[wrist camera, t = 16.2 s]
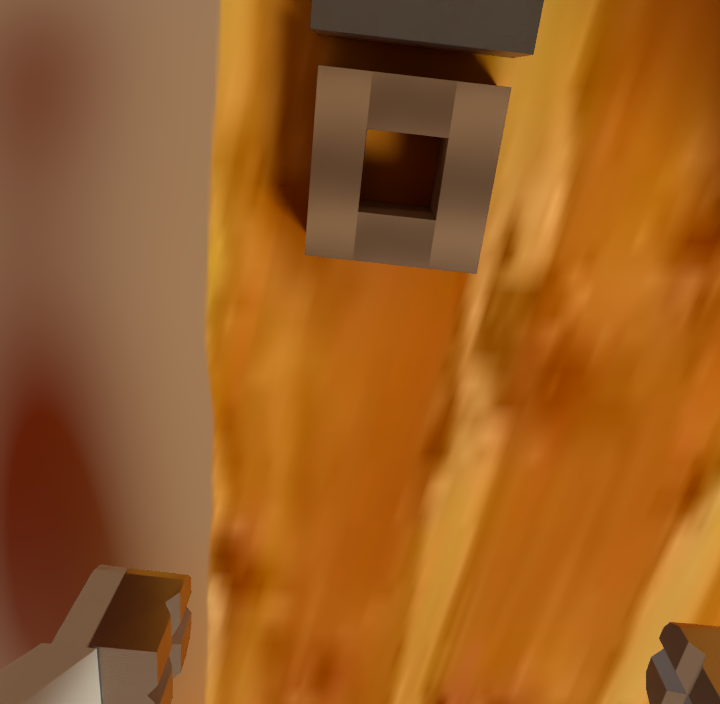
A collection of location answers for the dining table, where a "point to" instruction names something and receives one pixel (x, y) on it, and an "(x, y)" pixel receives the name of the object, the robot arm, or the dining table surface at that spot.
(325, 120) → the socket block
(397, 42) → the grey square-hole block
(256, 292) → the dining table surface
